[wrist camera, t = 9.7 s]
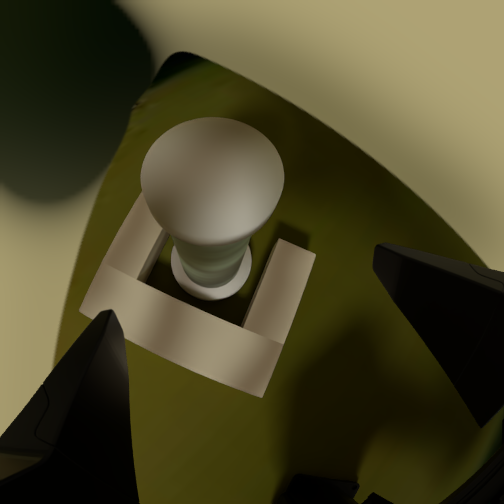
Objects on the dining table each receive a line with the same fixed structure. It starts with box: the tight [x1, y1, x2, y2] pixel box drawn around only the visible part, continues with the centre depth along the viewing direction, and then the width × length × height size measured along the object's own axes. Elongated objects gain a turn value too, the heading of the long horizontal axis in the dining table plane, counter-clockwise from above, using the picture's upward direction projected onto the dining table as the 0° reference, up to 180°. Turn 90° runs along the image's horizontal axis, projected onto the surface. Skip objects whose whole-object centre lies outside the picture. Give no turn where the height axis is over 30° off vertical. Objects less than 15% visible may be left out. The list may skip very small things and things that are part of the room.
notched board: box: [79, 192, 316, 398], centre depth 21 cm, size 14×11×2 cm
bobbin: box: [141, 117, 284, 302], centre depth 17 cm, size 6×6×13 cm
